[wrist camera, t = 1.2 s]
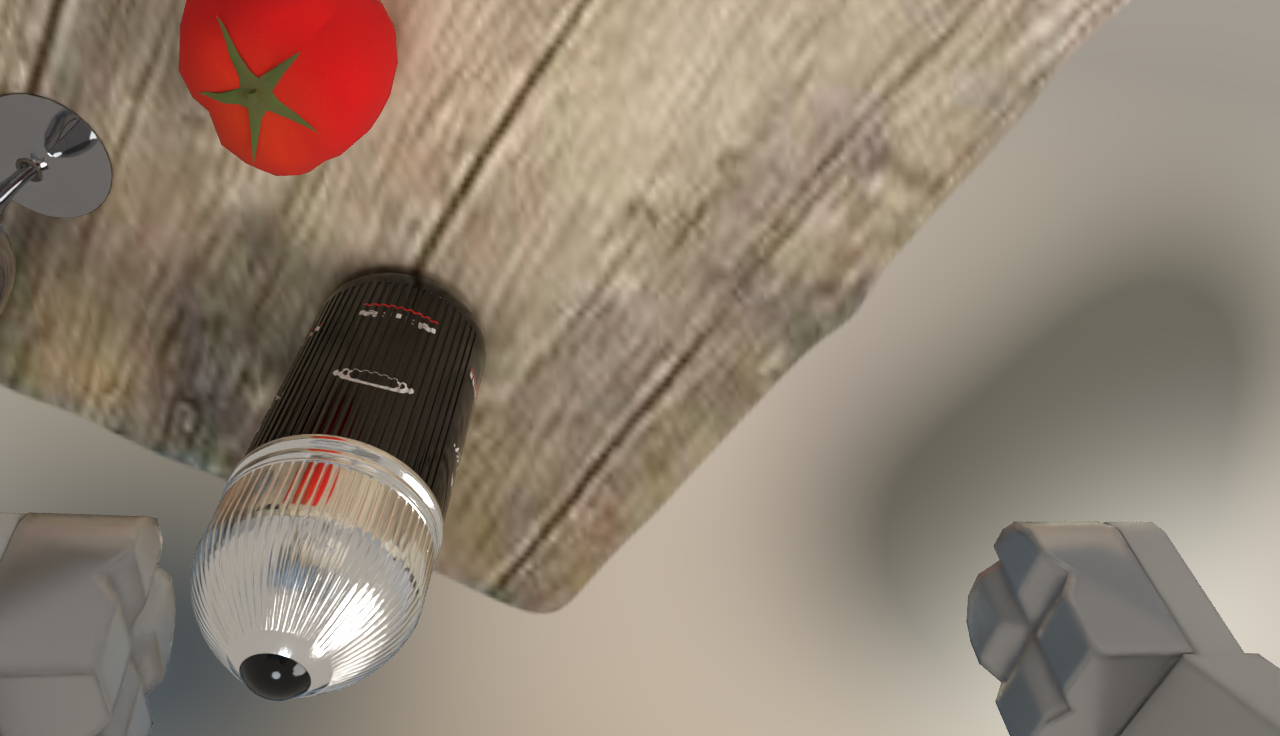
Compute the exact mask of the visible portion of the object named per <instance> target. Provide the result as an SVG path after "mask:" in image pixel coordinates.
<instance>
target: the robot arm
mask: <svg viewBox="0 0 1280 736" xmlns="http://www.w3.org/2000/svg"><path fill="white" fill-rule="evenodd" d="M162 547H163V539H162V535H161V532H160V528H159V524H158V521H157V518H154V517H150V516H121V515H90V514H59V513H58V514H57V513H2V512H0V736H150V732H151V729H152V725H153V721H152V718H151V713H150V709H149V705H148V701H147V698H146V695H147V694H148V693H149V692H150V691H151V690H152V689H153V688H155V687H156V686H157V685H158V684H159V683H160V682H161V681H162V680H163V679H164V678H165V675H166V671H167V667H168V663H169V658H170V655H171V650H172V643H173V634H174V624H175V599H174V590H173V585H172V580H171V576H170V575H169V574H167V573H166V572H165V571H164V570H162V569H161V568H160V567H158V566H157V564H158V561H159V557H160V554H161V550H162ZM994 549H995V551H996V553H997V555H998V557H999V561H998V562H996V563H995V564H993V565H992V566H990V567H989V568H987V569H986V570H984V571H983V572H981V573H980V574H978V576H977V578H976V580H975V583H974V585H973V587H972V589H971V591H970V593H969V596H968V607H967V625H968V631H969V636H970V641H971V644H972V647H973V649H974V652H975V654H976V656H977V659H978V662H979V664H980V665H982V666H983V667H984V668H985V669H986V670H988V671H989V672H990V673H991V674H992V675H993V676H995V677H996V678H997V679H998V680H999V681H1000V682H1001V685H1000V688H999V692H998V695H997V699H996V704H997V707H998V709H999V711H1000V714H1001V716H1002V718H1003V721H1004V723H1005V725H1006V728H1007V730H1008V732H1009V735H1010V736H1280V669H1279V668H1278V667H1276V666H1275V665H1274V664H1272V663H1271V662H1269V661H1268V660H1267V659H1265V658H1264V657H1262V656H1261V655H1260V654H1252V653H1251V654H1250V653H1244V652H1243V650H1242V649H1241V647H1240V646H1239V644H1238V642H1237V641H1236V640H1235V638H1234V637H1233V635H1232V633H1231V632H1230V630H1229V629H1228V627H1227V626H1226V624H1225V623H1224V621H1223V620H1222V618H1221V617H1220V615H1219V614H1218V612H1217V610H1216V609H1215V607H1214V606H1213V604H1212V603H1211V601H1210V600H1209V598H1208V597H1207V595H1206V594H1205V592H1204V591H1203V589H1202V588H1201V586H1200V585H1199V583H1198V581H1197V580H1196V579H1195V577H1194V576H1193V574H1192V573H1191V571H1190V569H1189V568H1188V566H1187V565H1186V563H1185V562H1184V560H1183V559H1182V557H1181V556H1180V554H1179V553H1178V551H1177V549H1176V548H1175V546H1174V545H1173V543H1172V542H1171V540H1170V539H1169V537H1168V536H1167V534H1166V533H1165V532H1164V531H1163V530H1162V529H1161V528H1159V527H1158V526H1156V525H1155V524H1154V523H1152V522H1104V523H1101V522H1098V521H1074V522H1073V521H1072V522H1071V521H1069V522H1067V521H1064V522H1013V523H1012V524H1010V525H1009V526H1007V527H1006V528H1004V529H1003V530H1002V532H1001V534H1000V535H999V537H998V539H997V541H996V542H995V544H994Z"/></svg>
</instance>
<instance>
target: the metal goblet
mask: <svg viewBox="0 0 1280 736" xmlns="http://www.w3.org/2000/svg"><path fill="white" fill-rule="evenodd" d="M111 186H112V167H111V163H110V159H109V156H108V153H107V151H106V149H105V147H104V145H103V143H102V142H101V140H100V139H99V137H98V136H97V135H96V133H95V132H94V131H93V130H92V129H91V127H90V126H89V125H88V124H87V123H86V122H85V121H84V120H82V119H81V118H80V117H79V116H78V115H77V114H75V113H74V112H72V111H71V110H69V109H68V108H66V107H65V106H63V105H61V104H59V103H57V102H55V101H53V100H50V99H47V98H44V97H41V96H37V95H31V94H20V93H14V94H8V95H3V96H0V218H1V214H2V212H3V211H4V209H5V208H6V206H7V205H8V204H9V202H10V201H11V200H14V201H16V202H17V203H19V204H21V205H22V206H24V207H26V208H28V209H30V210H33V211H35V212H38V213H41V214H44V215H48V216H54V217H67V218H69V217H77V216H82V215H85V214H88V213H90V212H92V211H93V210H95V209H97V208H98V207H99V206H100V205H101V204H102V203H103V202H104V201H105V199H106V198H107V196H108V194H109V192H110V189H111ZM15 274H16V262H15V257H14V252H13V248H12V245H11V242H10V239H9V237H8V235H7V233H6V232H5V230H4V228H3V227H2V225H1V223H0V314H1V313H2V311H3V309H4V308H5V305H6V303H7V301H8V298H9V296H10V294H11V291H12V287H13V284H14V279H15Z"/></svg>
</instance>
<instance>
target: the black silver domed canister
mask: <svg viewBox="0 0 1280 736" xmlns="http://www.w3.org/2000/svg"><path fill="white" fill-rule="evenodd" d="M485 358H486V356H485V343H484V338H483V335H482V332H481V329H480V327H479V325H478V323H477V321H476V319H475V318H474V316H473V315H472V313H471V312H470V311H469V309H468V308H467V307H466V306H465V305H464V304H463V303H462V302H461V301H460V300H459V299H458V298H457V297H456V296H455V295H454V294H452V293H451V292H450V291H448V290H447V289H445V288H443V287H442V286H440V285H438V284H436V283H434V282H432V281H430V280H427V279H425V278H422V277H418V276H415V275H410V274H405V273H394V272H386V273H375V274H371V275H366V276H362V277H359V278H356V279H354V280H352V281H349V282H348V283H346V284H344V285H342V286H341V287H340V288H338V289H337V290H336V291H335V292H334V293H333V294H332V295H331V296H330V297H329V298H328V299H327V300H326V301H325V303H324V304H323V306H322V307H321V309H320V311H319V313H318V314H317V316H316V318H315V320H314V322H313V324H312V326H311V328H310V330H309V332H308V334H307V336H306V338H305V340H304V342H303V344H302V346H301V347H300V349H299V351H298V353H297V355H296V357H295V359H294V361H293V363H292V365H291V367H290V369H289V371H288V373H287V375H286V377H285V379H284V380H283V382H282V384H281V386H280V388H279V390H278V392H277V394H276V396H275V398H274V400H273V402H272V404H271V406H270V408H269V410H268V412H267V413H266V415H265V417H264V419H263V421H262V423H261V425H260V427H259V429H258V431H257V433H256V435H255V437H254V439H253V441H252V443H251V445H250V446H249V448H248V450H247V452H246V454H245V456H244V458H243V459H242V460H241V461H240V462H239V463H238V464H237V465H236V467H235V468H234V470H233V471H232V473H231V474H230V476H229V479H228V481H227V484H226V488H225V490H224V492H223V494H222V497H221V500H220V502H219V504H218V506H217V509H216V510H215V512H214V514H213V516H212V518H211V520H210V522H209V524H208V526H207V528H206V530H205V532H204V534H203V535H202V537H201V539H200V541H199V543H198V545H197V548H196V551H195V554H194V557H193V561H192V568H191V584H190V586H191V600H192V606H193V610H194V614H195V617H196V620H197V623H198V625H199V628H200V630H201V632H202V635H203V637H204V638H205V640H206V642H207V644H208V646H209V647H210V649H211V650H212V652H213V653H214V654H215V656H216V657H217V658H218V659H219V660H220V662H221V663H222V664H223V665H224V666H225V667H226V668H227V669H228V670H229V671H230V672H231V673H232V674H233V675H235V677H236V678H238V679H239V680H240V681H241V682H243V683H244V684H246V686H247V687H248V688H249V689H250V690H251V691H252V692H253V693H255V694H256V695H258V696H260V697H262V698H265V699H268V700H274V701H283V700H288V699H292V698H301V697H302V698H303V697H309V696H314V695H319V694H325V693H328V692H333V691H336V690H339V689H342V688H344V687H347V686H349V685H352V684H354V683H356V682H358V681H360V680H362V679H363V678H365V677H367V676H369V675H370V674H372V673H373V672H375V671H376V670H377V669H379V668H380V667H381V666H383V665H384V664H385V663H387V662H388V661H389V660H390V659H391V658H392V657H393V656H394V655H395V654H396V653H397V652H398V651H399V650H400V648H401V647H402V646H403V645H404V643H405V642H406V641H407V639H408V638H409V637H410V635H411V634H412V632H413V630H414V629H415V627H416V625H417V623H418V620H419V618H420V615H421V612H422V608H423V604H424V600H425V597H426V593H427V589H428V585H429V581H430V577H431V574H432V571H433V568H434V565H435V563H436V560H437V557H438V555H439V553H440V550H441V547H442V543H443V537H444V521H445V517H446V513H447V509H448V505H449V502H450V498H451V494H452V490H453V486H454V483H455V479H456V475H457V471H458V467H459V463H460V460H461V456H462V452H463V448H464V444H465V441H466V437H467V433H468V429H469V425H470V421H471V418H472V414H473V410H474V406H475V402H476V399H477V395H478V391H479V387H480V383H481V380H482V376H483V372H484V367H485Z"/></svg>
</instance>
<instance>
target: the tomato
mask: <svg viewBox="0 0 1280 736" xmlns="http://www.w3.org/2000/svg"><path fill="white" fill-rule="evenodd" d="M397 63H398V61H397V48H396V35H395V30H394V25H393V23H392V21H391V19H390V18H389V16H388V14H387V12H386V10H385V8H384V7H383V5H382V3H381V2H380V1H379V0H187V1H186V4H185V8H184V12H183V17H182V21H181V25H180V53H179V72H180V74H181V76H182V77H183V79H184V81H185V83H186V85H187V87H188V89H189V91H190V93H191V95H192V97H193V98H194V99H195V100H197V101H198V102H199V103H200V104H201V105H202V106H203V107H205V108H206V109H207V110H208V111H209V113H210V116H211V118H212V121H213V124H214V126H215V129H216V131H217V134H218V137H219V139H220V142H221V144H222V145H223V146H224V147H225V148H227V149H228V150H229V151H231V152H232V153H233V154H235V155H236V156H237V157H239V158H240V159H241V160H243V161H244V162H245V163H247V164H249V165H251V166H253V167H256V168H258V169H260V170H263V171H265V172H268V173H271V174H273V175H276V176H288V175H301V174H304V173H307V172H310V171H311V170H313V169H314V168H316V167H317V166H319V165H320V164H321V163H323V162H324V161H326V160H329V159H332V158H334V157H337V156H340V155H341V154H342V153H343V152H345V151H346V150H347V149H348V148H349V147H350V146H352V145H353V144H354V143H355V142H356V141H357V140H359V139H360V138H361V137H362V136H363V135H364V134H365V133H367V132H368V131H369V130H370V129H371V127H372V126H373V124H374V123H375V121H376V120H377V118H378V117H379V115H380V114H381V112H382V110H383V108H384V106H385V104H386V102H387V100H388V98H389V96H390V93H391V89H392V84H393V80H394V75H395V71H396V67H397Z"/></svg>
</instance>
